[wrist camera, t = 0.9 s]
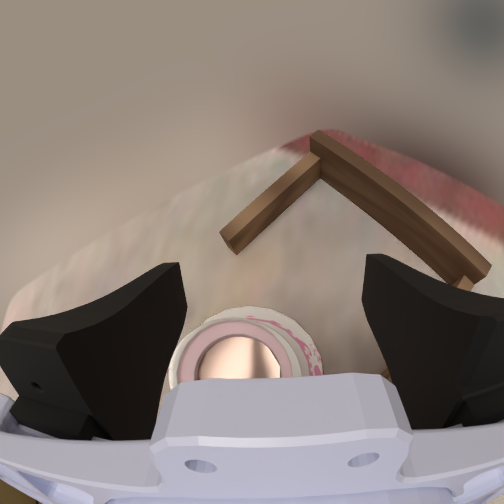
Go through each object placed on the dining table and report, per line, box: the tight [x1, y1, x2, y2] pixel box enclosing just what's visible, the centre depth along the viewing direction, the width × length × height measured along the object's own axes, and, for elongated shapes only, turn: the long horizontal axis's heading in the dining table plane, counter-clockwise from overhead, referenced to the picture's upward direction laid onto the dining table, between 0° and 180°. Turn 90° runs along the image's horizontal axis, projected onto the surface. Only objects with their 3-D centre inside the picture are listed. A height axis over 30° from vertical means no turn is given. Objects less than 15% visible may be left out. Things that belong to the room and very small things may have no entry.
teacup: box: [166, 306, 323, 390], centre depth 21 cm, size 12×12×6 cm
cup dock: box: [219, 130, 492, 383], centre depth 23 cm, size 12×18×5 cm, turn 43°
